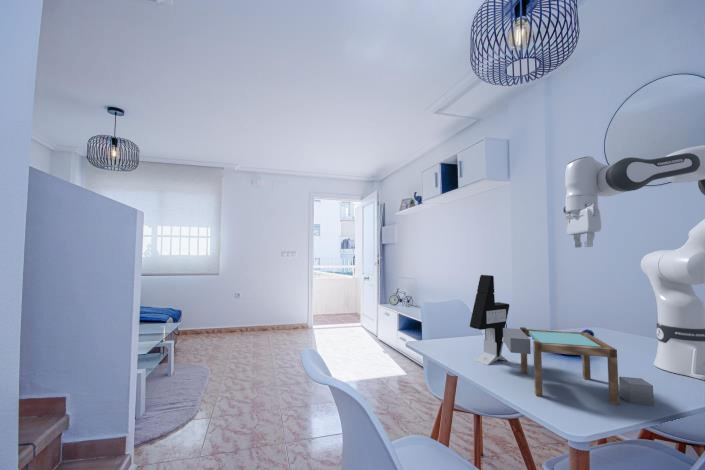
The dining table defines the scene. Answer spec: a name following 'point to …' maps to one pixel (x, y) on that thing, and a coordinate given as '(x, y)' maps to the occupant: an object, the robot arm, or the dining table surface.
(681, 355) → the robot arm
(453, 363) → the dining table surface
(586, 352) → the frame
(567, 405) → the dining table surface
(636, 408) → the dining table surface
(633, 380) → the weight
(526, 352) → the trapdoor
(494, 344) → the award
